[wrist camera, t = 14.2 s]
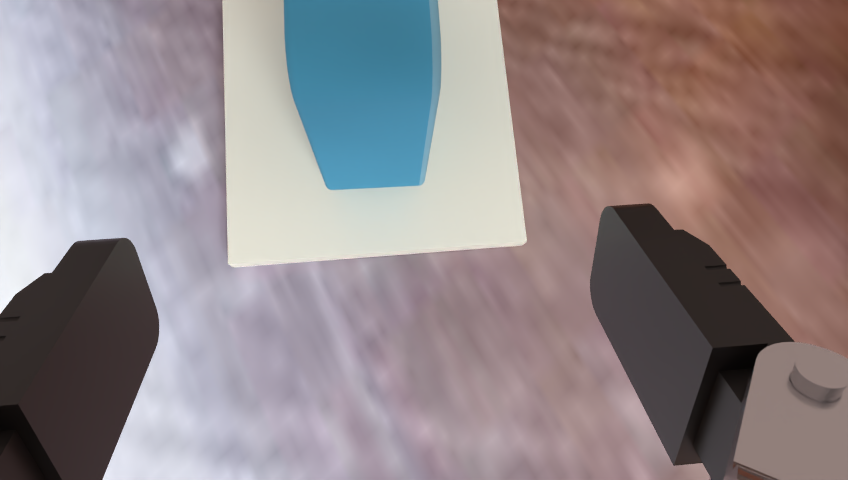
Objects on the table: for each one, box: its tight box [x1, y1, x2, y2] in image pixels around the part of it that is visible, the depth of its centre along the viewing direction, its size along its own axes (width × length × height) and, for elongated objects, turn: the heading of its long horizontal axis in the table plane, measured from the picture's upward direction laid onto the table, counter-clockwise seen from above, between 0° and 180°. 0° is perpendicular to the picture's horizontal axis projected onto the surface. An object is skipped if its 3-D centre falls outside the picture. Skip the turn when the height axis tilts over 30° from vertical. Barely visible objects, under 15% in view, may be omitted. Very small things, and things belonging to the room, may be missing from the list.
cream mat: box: [222, 0, 527, 267], centre depth 30 cm, size 14×18×1 cm
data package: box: [284, 0, 441, 190], centre depth 24 cm, size 12×4×12 cm, turn 4°
